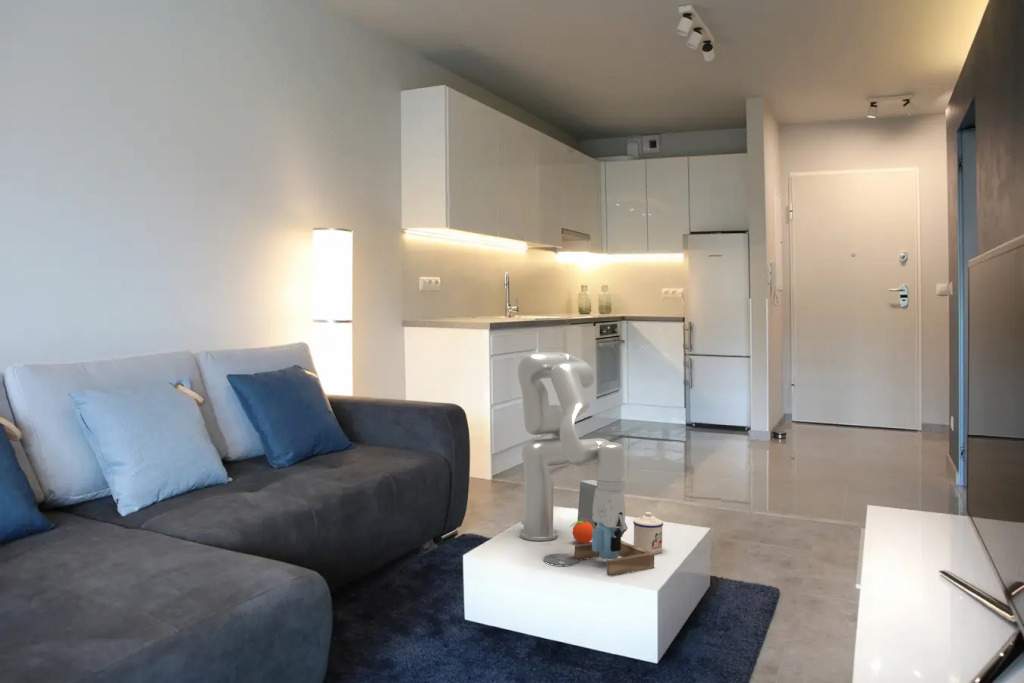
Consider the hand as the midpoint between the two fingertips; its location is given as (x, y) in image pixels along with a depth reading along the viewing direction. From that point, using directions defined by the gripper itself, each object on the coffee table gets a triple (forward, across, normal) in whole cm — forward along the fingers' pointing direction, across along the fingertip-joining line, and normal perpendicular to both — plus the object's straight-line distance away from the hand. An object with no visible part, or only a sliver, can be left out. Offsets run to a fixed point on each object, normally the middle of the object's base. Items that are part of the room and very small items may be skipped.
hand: (608, 547), depth 216 cm
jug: (+3, 0, -1) cm, 3 cm away
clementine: (+5, -21, +6) cm, 22 cm away
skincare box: (+5, -34, +20) cm, 39 cm away
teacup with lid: (+5, -6, +20) cm, 22 cm away
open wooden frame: (+5, 0, +1) cm, 5 cm away
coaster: (+5, -9, -11) cm, 15 cm away
